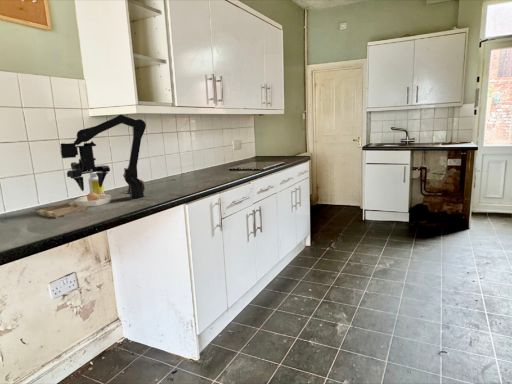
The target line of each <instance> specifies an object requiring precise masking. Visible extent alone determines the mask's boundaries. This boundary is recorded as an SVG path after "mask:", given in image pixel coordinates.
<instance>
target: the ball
mask: <svg viewBox="0 0 512 384" xmlns="http://www.w3.org/2000/svg"><path fill="white" fill-rule="evenodd" d="M86 196H87V200H88V201H93V200H98V195H97V194H96V193H94V192H92V193H90V192H89V193H88V194H87V195H86Z"/></svg>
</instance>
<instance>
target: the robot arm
mask: <svg viewBox="0 0 512 384" xmlns="http://www.w3.org/2000/svg"><path fill="white" fill-rule="evenodd" d="M121 124H123V125H125V126H128V127H131V128H132V129H131V130H132V142H131V148H130V154H129V161H128V166H127V168H126V167H124V168H123V171H124V172H123V174H122V176H123V178H124V181H125V183H126V184H127V185H128V184H130V185H131V186H129V185H128V188H129V187H130V193H129V194H130V195H129V196H130V197H129V199H132V200H139V199H142V198H146V195H145V194H144V190H143V186H142V184H143V183H142V182H141V180H142V179H139V177H138V162H139V154H140V149H141V142H142V138H143V136H144V134H145V130H146V128H147V124H146V122H145V121H144V120H143V119H138V118H137V119H135V118H131V117H128V116H126V115H124V114H118V115H117V116H115V117H114V118H111V119H109V120H107V121H104V122H101V123H99V124H97V125H95V126H91V127H86V128H83V129H79V130H78V131H77V133H76V139H75V140H73V142H70V143H69V142H68V143H65V142H61V143H60V154H61V158H62V159H71V158H73V159H74V158H77V156H79V157H80V158H78V162H75V161H73V162H70V167H71V169H70V170H67V172H66V176H67V178H70V179H73V180H74V181H75V182H76V183H77V185H78V187H79V189H80V190H81V191H82V192H84V191H85V187H84V186H85V184H84V176H83V175H86V174H90V173H93V172H97V173H96V174H97V176H98V182H99V187H102V184H103V185H104V181H105V179H106V176H107V175H108V174H109V173H110V172H111V168H110V166H109V165H104V164H103V165H97V166H96V164H95V161H96V160H97V159H96V157H95V156H94V151H93V150H94V149H93V147H96V146H97V144H96V143H94V141H92V140H91V139H93V138H95V137H96V136H98V135H99V134H101V133H103V132H105V131H108V130H110V129H111V128H114V127H116V126H118V125H121ZM88 141H90V142H88ZM82 143H83V145H80V144H82Z"/></svg>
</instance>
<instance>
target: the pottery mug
mask: <svg viewBox="0 0 512 384" xmlns="http://www.w3.org/2000/svg"><path fill="white" fill-rule="evenodd" d="M140 180H141V182H142V183H143V184H142V186H143V191H145V190H146V189H145V181H144V180H142V179H140ZM127 185H128V188H127V190H126V192H127V194H130V187H129V186H131V185H130V184H128V183H127Z"/></svg>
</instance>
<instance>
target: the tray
mask: <svg viewBox="0 0 512 384" xmlns="http://www.w3.org/2000/svg"><path fill="white" fill-rule="evenodd" d="M85 210H88V207H87V206H86V205H80V204H75V203H74V202H66V203H62V204H58V205H54V206H48V207H45V208H39V209H37V212H38V213H37V214H38V215H39V216H42V217H47V218H52V219H58V218H62V217H65V216H66V215H69V214H72V213H77V212H81V211H85Z"/></svg>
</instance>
